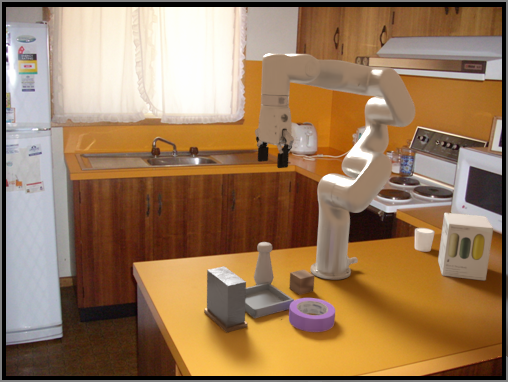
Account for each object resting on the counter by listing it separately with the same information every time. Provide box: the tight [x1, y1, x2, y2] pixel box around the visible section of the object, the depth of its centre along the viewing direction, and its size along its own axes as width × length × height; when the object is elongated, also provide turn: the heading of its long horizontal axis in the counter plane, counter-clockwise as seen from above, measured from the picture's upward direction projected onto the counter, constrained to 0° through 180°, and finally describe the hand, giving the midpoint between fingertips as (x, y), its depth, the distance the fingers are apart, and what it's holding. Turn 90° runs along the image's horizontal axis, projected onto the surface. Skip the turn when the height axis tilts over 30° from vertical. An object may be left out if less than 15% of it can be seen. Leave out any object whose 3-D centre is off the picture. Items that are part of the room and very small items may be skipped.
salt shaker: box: [253, 241, 274, 286], centre depth 152 cm, size 6×6×13 cm
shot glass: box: [414, 227, 436, 253], centre depth 187 cm, size 7×7×7 cm
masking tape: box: [288, 297, 336, 333], centre depth 133 cm, size 12×12×4 cm
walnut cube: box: [289, 269, 315, 296], centre depth 151 cm, size 5×5×5 cm
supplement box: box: [437, 212, 494, 281], centre depth 167 cm, size 13×13×18 cm
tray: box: [245, 283, 295, 319], centre depth 142 cm, size 12×12×2 cm
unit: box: [203, 266, 249, 333], centre depth 131 cm, size 6×12×12 cm, turn 32°
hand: (272, 164), depth 143 cm, fingers open, 9 cm apart
